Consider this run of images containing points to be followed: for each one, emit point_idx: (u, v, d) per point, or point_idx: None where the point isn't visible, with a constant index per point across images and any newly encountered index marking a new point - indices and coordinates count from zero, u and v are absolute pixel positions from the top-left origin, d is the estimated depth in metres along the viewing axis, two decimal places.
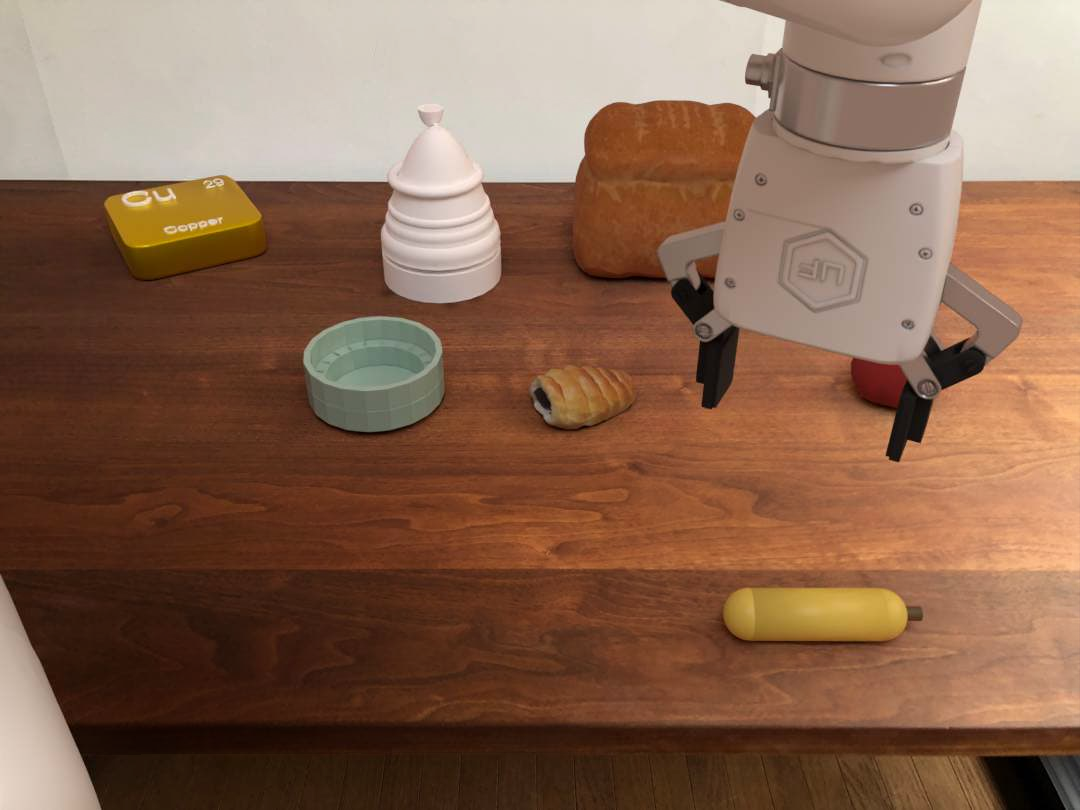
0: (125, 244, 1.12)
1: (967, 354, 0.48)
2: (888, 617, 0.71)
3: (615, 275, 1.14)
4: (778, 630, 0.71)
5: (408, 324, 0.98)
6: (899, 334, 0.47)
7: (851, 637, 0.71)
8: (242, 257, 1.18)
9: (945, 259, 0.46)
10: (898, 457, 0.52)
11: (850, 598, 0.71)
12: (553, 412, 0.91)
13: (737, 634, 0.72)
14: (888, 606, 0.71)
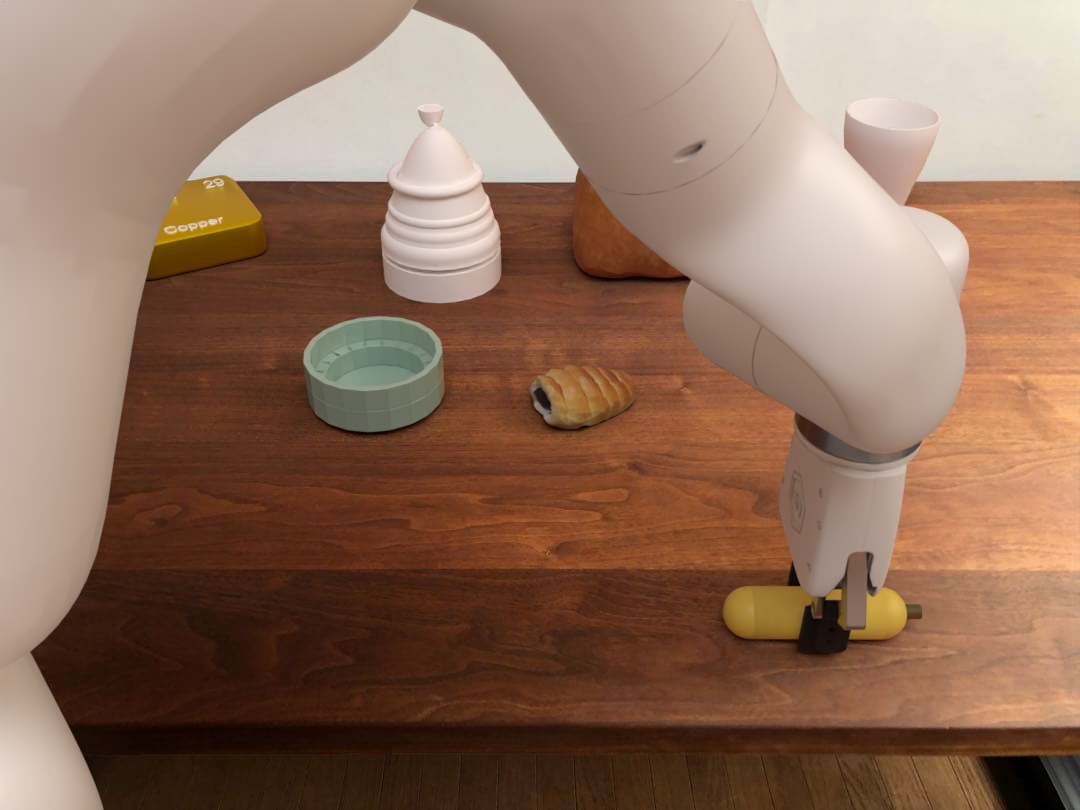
0: None
1: None
2: (887, 611, 0.71)
3: (615, 275, 1.14)
4: (778, 625, 0.71)
5: (408, 324, 0.98)
6: (805, 571, 0.65)
7: (852, 633, 0.71)
8: (242, 257, 1.18)
9: (835, 540, 0.62)
10: (799, 646, 0.71)
11: None
12: (553, 412, 0.91)
13: (738, 631, 0.72)
14: (887, 601, 0.71)
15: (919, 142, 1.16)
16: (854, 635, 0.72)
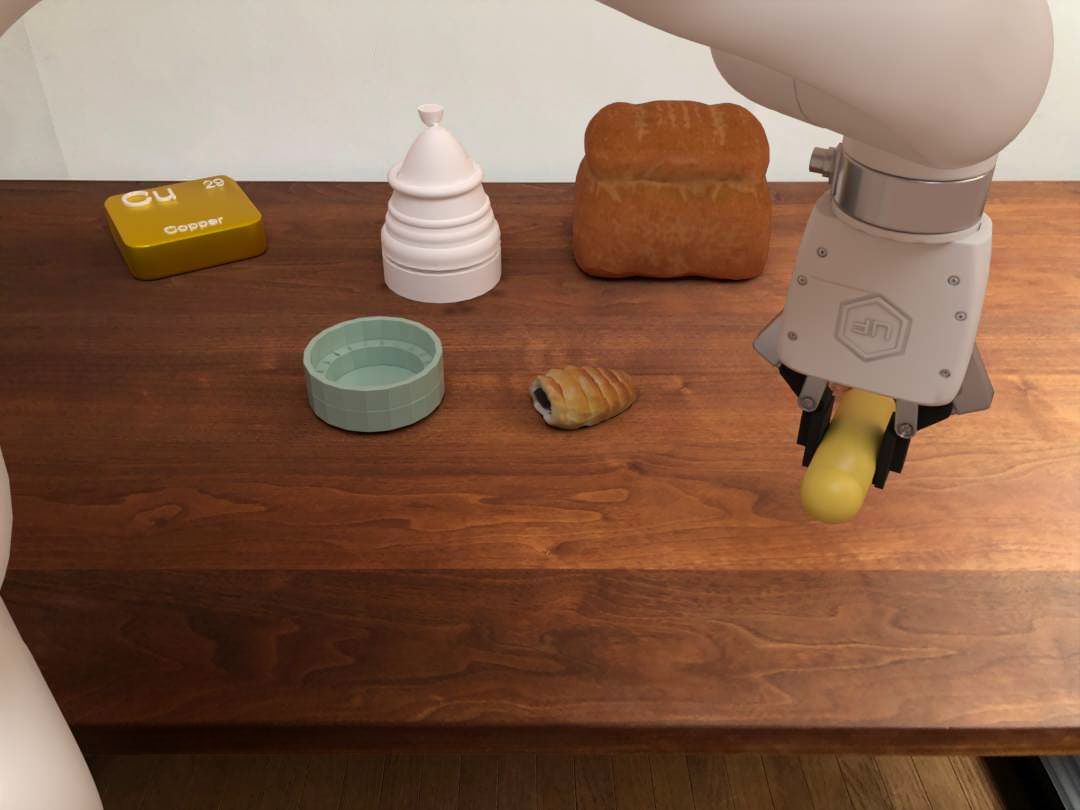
0: (126, 244, 1.12)
1: None
2: (889, 400, 0.66)
3: (615, 275, 1.14)
4: (869, 477, 0.61)
5: (408, 324, 0.98)
6: (937, 381, 0.56)
7: None
8: (242, 257, 1.18)
9: (977, 320, 0.55)
10: (882, 485, 0.63)
11: (862, 408, 0.65)
12: (553, 412, 0.91)
13: (852, 513, 0.60)
14: None
15: None
16: None
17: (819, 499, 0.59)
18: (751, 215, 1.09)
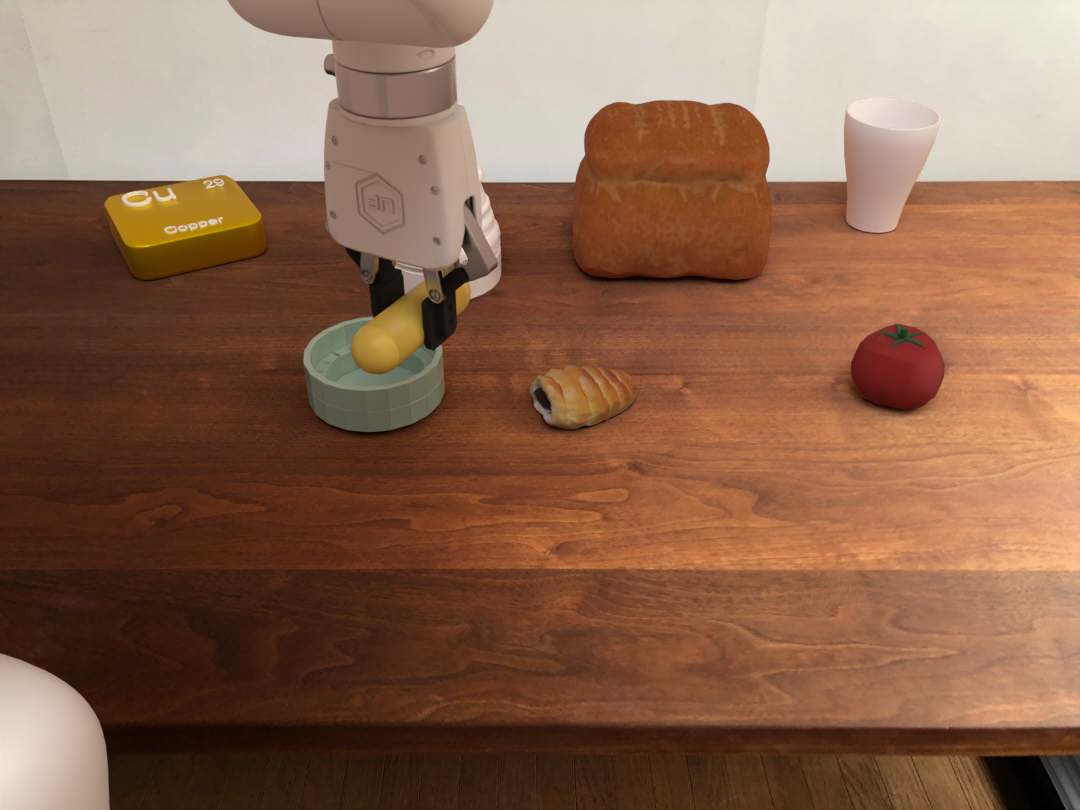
0: (126, 244, 1.12)
1: (454, 271, 0.71)
2: None
3: (615, 275, 1.14)
4: (410, 336, 0.73)
5: None
6: (433, 248, 0.68)
7: None
8: (242, 257, 1.18)
9: (453, 194, 0.67)
10: (430, 346, 0.75)
11: None
12: (553, 412, 0.91)
13: (387, 363, 0.72)
14: None
15: (919, 142, 1.16)
16: None
17: (358, 351, 0.72)
18: (751, 215, 1.09)
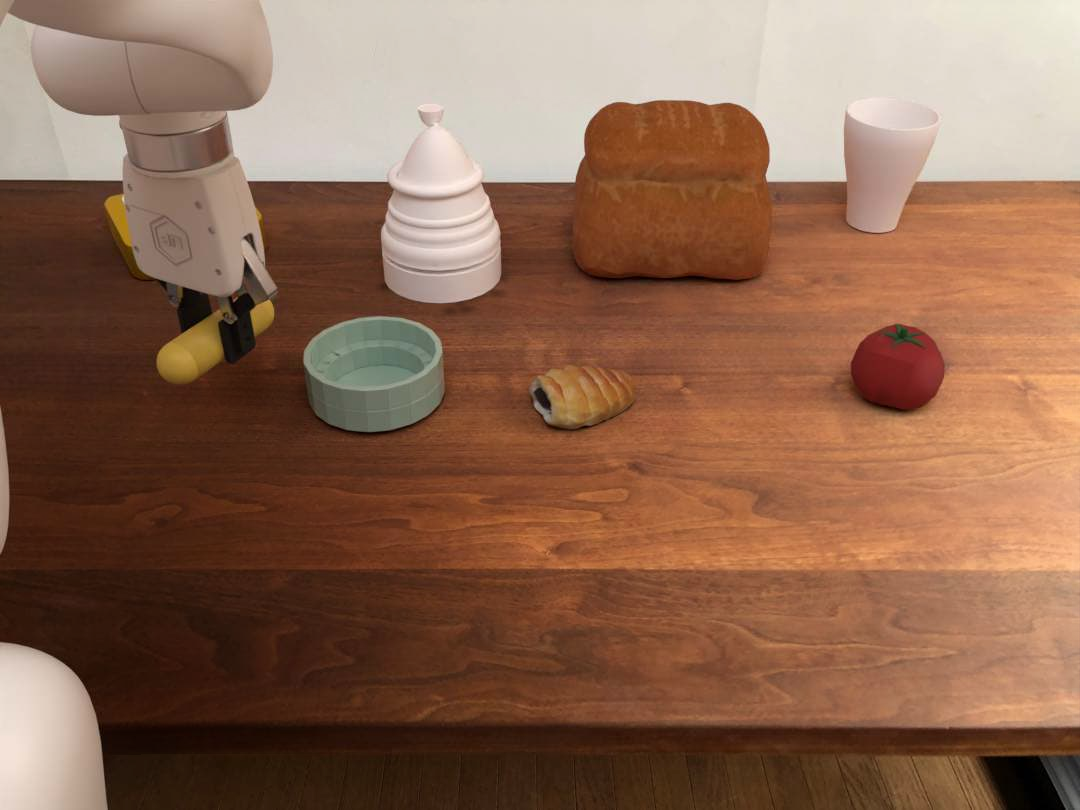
0: (126, 244, 1.12)
1: None
2: None
3: (615, 275, 1.14)
4: (209, 352, 0.85)
5: (408, 324, 0.98)
6: (216, 278, 0.80)
7: None
8: None
9: (228, 233, 0.79)
10: (229, 360, 0.87)
11: None
12: (553, 412, 0.91)
13: (186, 375, 0.84)
14: None
15: (919, 142, 1.16)
16: None
17: (160, 365, 0.84)
18: (751, 215, 1.09)
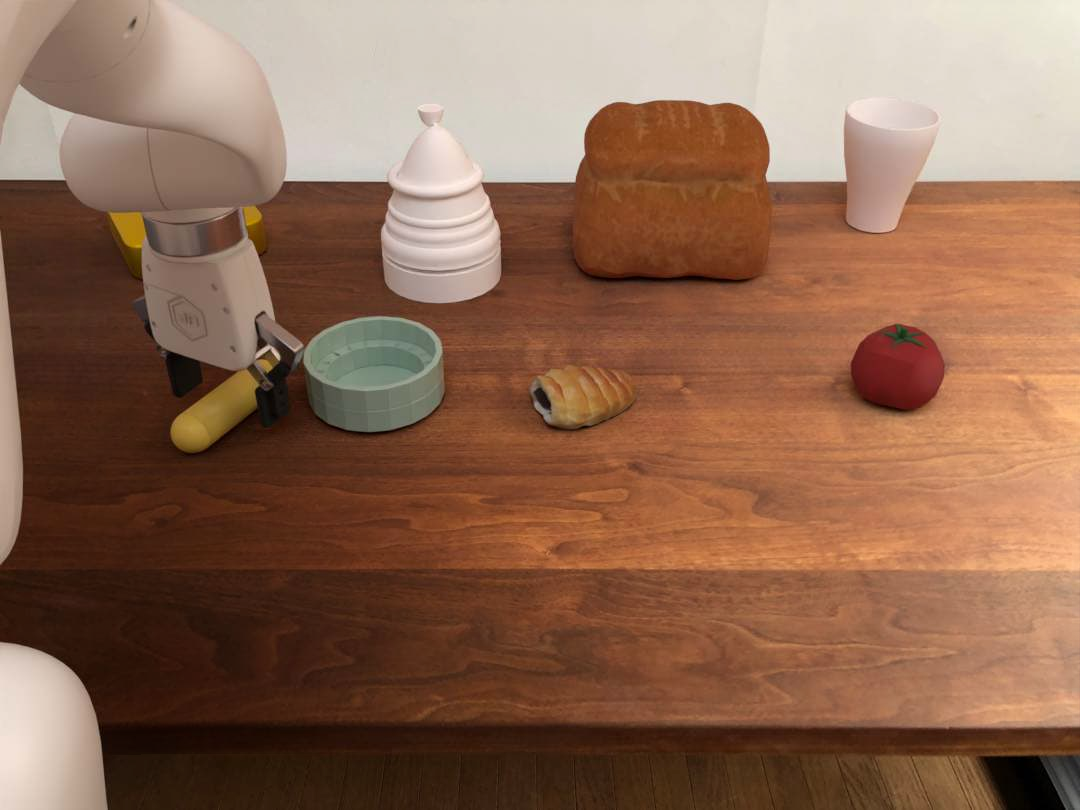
0: (126, 244, 1.12)
1: (278, 365, 0.85)
2: (266, 367, 0.95)
3: (615, 275, 1.14)
4: (218, 418, 0.89)
5: (408, 324, 0.98)
6: (231, 354, 0.84)
7: None
8: None
9: (243, 313, 0.83)
10: (265, 425, 0.89)
11: (237, 375, 0.93)
12: (553, 412, 0.91)
13: (198, 442, 0.88)
14: (260, 363, 0.95)
15: (919, 142, 1.16)
16: None
17: (173, 436, 0.88)
18: (751, 215, 1.09)
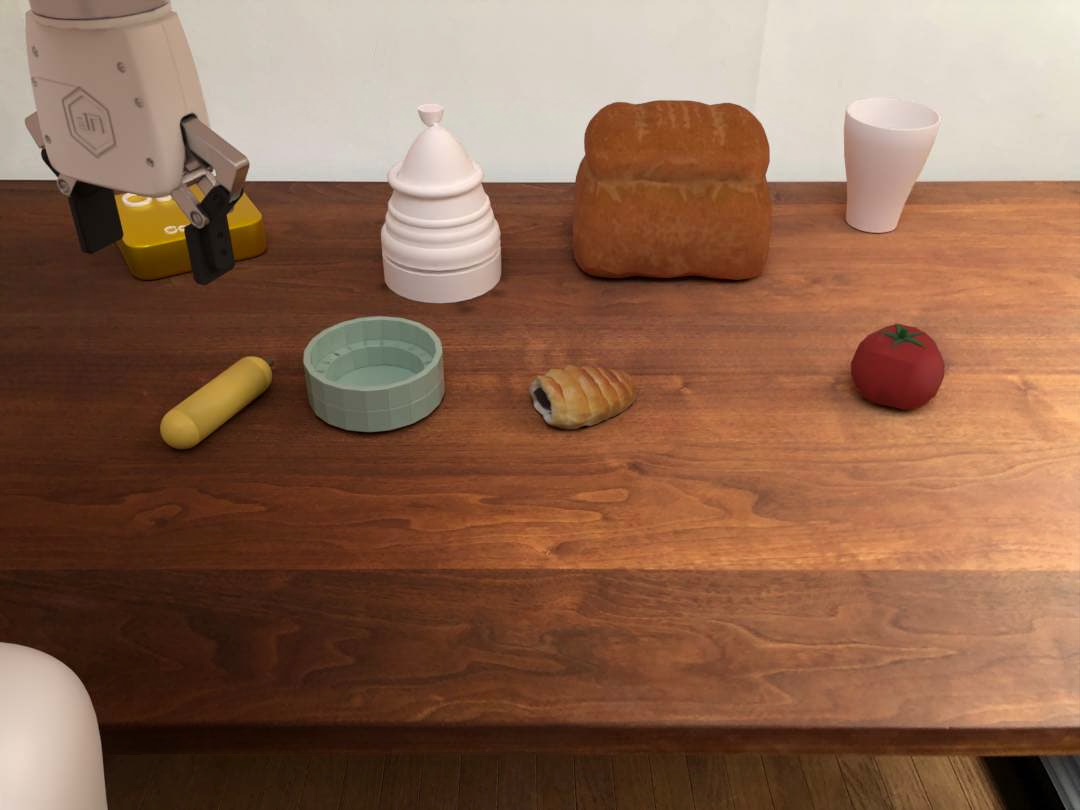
0: (126, 244, 1.12)
1: (214, 189, 0.63)
2: (246, 359, 0.95)
3: (615, 275, 1.14)
4: (198, 404, 0.90)
5: (408, 324, 0.98)
6: (148, 170, 0.61)
7: (243, 380, 0.93)
8: (242, 257, 1.18)
9: (162, 108, 0.60)
10: (199, 280, 0.66)
11: (220, 374, 0.94)
12: (553, 412, 0.91)
13: (183, 429, 0.88)
14: (241, 359, 0.96)
15: (919, 142, 1.16)
16: (247, 382, 0.94)
17: (162, 435, 0.89)
18: (751, 215, 1.09)
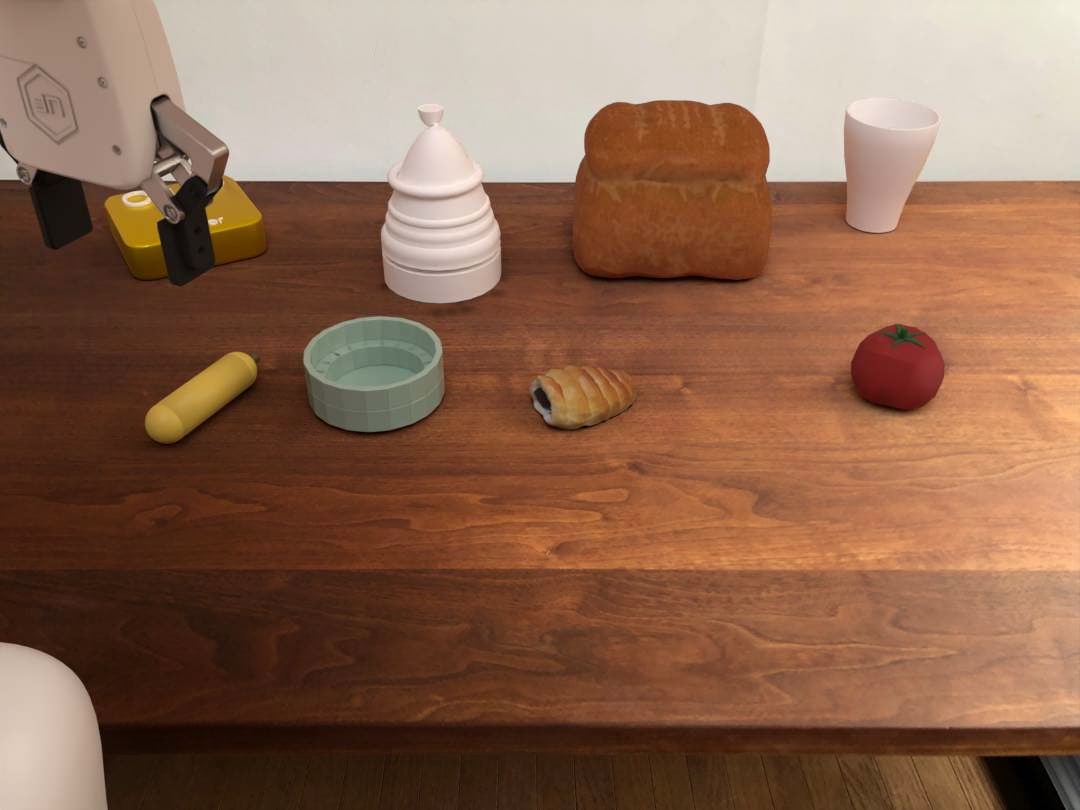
0: (126, 244, 1.12)
1: (189, 180, 0.56)
2: None
3: (615, 275, 1.14)
4: (169, 395, 0.91)
5: (408, 324, 0.98)
6: (114, 159, 0.55)
7: (213, 366, 0.94)
8: (242, 257, 1.18)
9: (129, 89, 0.53)
10: (175, 281, 0.59)
11: None
12: (553, 412, 0.91)
13: (154, 414, 0.89)
14: None
15: (919, 142, 1.16)
16: (218, 366, 0.94)
17: (150, 435, 0.90)
18: (751, 215, 1.09)
